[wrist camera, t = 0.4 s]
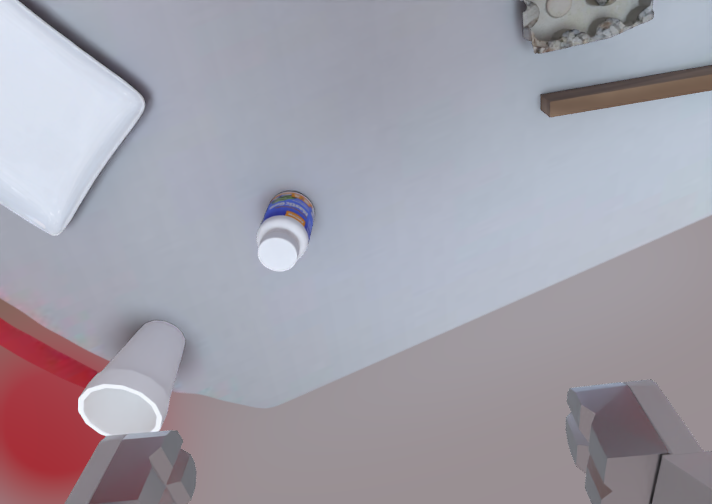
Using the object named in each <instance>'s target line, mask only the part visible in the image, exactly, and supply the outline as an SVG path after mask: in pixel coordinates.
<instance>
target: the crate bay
mask: <svg viewBox="0 0 712 504" xmlns="http://www.w3.org/2000/svg"><path fill="white" fill-rule="evenodd" d="M711 90H712V65H710V66H704V67H698V68H692V69H686V70H681V71H675V72H669V73H663V74H657V75H652V76H646V77H640V78H634V79H628V80H623V81H617V82H611V83H605V84H600V85H594V86H588V87H582V88H576V89H571V90H565V91H559V92H553V93H547V94H542V95H541V110H542V111H543V112H544V113H545V114H547V115H548V116H549V117H555V116H561V115H567V114H573V113H579V112H585V111H591V110H597V109H603V108H609V107H615V106H621V105H627V104H633V103H639V102H645V101H651V100H657V99H663V98H669V97H675V96H681V95H687V94H693V93H699V92H705V91H711Z"/></svg>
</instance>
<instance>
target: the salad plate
mask: <svg viewBox="0 0 712 504" xmlns="http://www.w3.org/2000/svg"><path fill="white" fill-rule="evenodd" d="M144 109H145V100H144V98H143V96H142V95H141V94H140V93H139V92H138V91H137V90H136V89H134V88H133V87H132V86H131V85H130V84H128V83H127V82H126V81H125V80H123V79H122V78H121V77H119V76H118V75H117V74H115V73H114V72H112V71H111V70H110V69H108V68H107V67H105V66H104V65H103V64H101V63H100V62H98V61H97V60H96V59H94V58H93V57H92V56H90V55H89V54H87V53H86V52H85V51H83V50H82V49H81V48H79V47H78V46H77V45H75V44H74V43H73V42H71V41H70V40H69V39H67V38H66V37H65V36H63V35H62V34H61V33H59V32H58V31H57V30H56V29H54V28H53V27H52V26H50V25H49V24H48V23H46V22H45V21H44V20H42V19H41V18H40V17H39V16H37V15H36V14H35V13H33V12H32V11H31V10H30V9H28V8H27V7H26V6H25V5H23V4H22V3H21V2H20V1H18V0H0V204H2V205H3V206H5V207H6V208H8V209H9V210H11V211H12V212H14V213H15V214H17V215H19V216H20V217H22V218H23V219H25V220H26V221H28V222H30V223H31V224H33V225H34V226H36V227H38V228H39V229H41V230H43V231H44V232H46V233H48V234H50V235H53V236H57V235H59V234H61V233H62V232H63V231H64V229H65V228H66V227H67V225H68V224H69V222H70V221H71V219H72V218H73V216H74V214H75V212H76V211H77V209H78V207H79V205H80V204H81V202H82V200H83V199H84V197H85V195H86V194H87V192H88V191H89V189H90V187H91V186H92V184H93V183H94V181H95V179H96V178H97V176H98V175H99V173H100V172H101V171H102V169H103V168H104V166H105V165H106V163H107V162H108V160H109V159H110V158H111V156H112V155H113V153H114V152H115V151H116V149H117V148H118V147H119V145H120V144H121V143H122V141H123V140H124V139H125V137H126V136H127V135H128V133H129V132H130V131H131V130H132V128H133V127H134V125H135V124H136V123H137V121H138V120H139V118H140V117H141V115H142V113H143V111H144Z"/></svg>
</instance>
